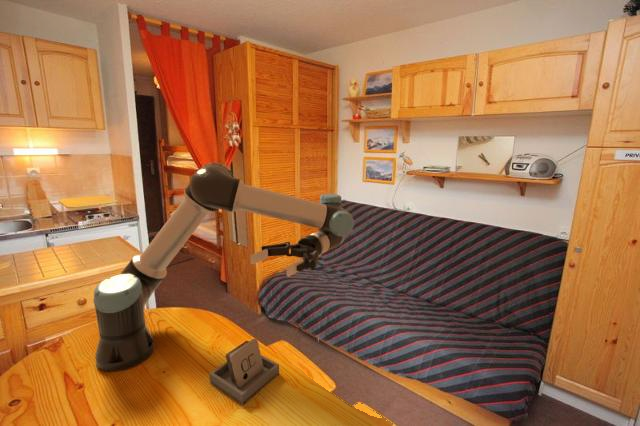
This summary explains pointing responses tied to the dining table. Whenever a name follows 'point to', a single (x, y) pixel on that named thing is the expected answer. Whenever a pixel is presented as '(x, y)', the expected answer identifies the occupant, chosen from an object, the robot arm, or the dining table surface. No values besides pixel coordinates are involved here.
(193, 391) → the dining table surface
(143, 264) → the robot arm
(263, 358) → the box
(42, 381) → the dining table surface
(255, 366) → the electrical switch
